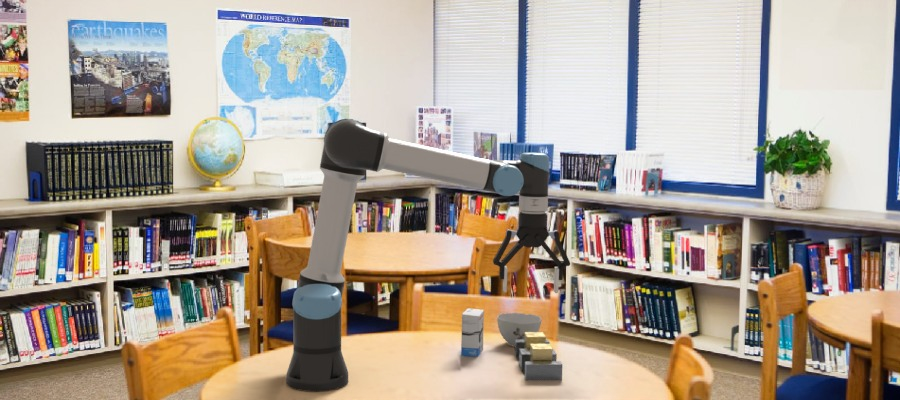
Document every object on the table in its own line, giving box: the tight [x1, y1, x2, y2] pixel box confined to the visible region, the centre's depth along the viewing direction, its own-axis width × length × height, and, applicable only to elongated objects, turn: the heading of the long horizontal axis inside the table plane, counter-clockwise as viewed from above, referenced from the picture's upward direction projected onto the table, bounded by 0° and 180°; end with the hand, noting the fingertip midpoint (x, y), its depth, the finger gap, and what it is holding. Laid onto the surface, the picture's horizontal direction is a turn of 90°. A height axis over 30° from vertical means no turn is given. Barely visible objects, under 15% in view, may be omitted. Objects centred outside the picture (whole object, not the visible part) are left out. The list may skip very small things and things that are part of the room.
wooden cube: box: [530, 343, 554, 361], centre depth 252 cm, size 5×5×7 cm
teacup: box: [496, 312, 542, 347], centre depth 282 cm, size 15×12×8 cm
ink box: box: [460, 308, 485, 358], centre depth 270 cm, size 8×5×12 cm, turn 168°
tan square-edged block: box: [524, 331, 547, 349], centre depth 263 cm, size 5×5×7 cm
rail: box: [514, 339, 563, 381], centre depth 258 cm, size 9×24×4 cm, turn 3°
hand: (530, 291), depth 262 cm, fingers open, 13 cm apart
